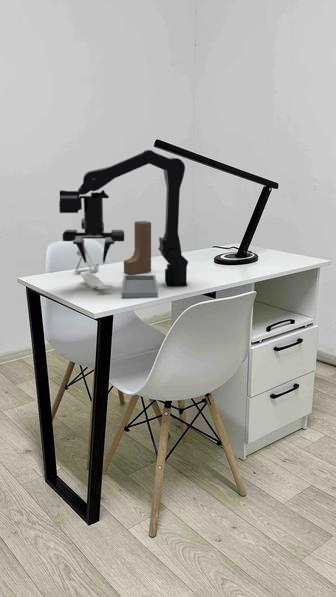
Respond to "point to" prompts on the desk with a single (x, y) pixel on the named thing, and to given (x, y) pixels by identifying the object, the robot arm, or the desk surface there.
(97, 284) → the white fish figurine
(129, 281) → the razor tray
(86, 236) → the robot arm
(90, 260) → the portable electronic device stand
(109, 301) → the desk surface
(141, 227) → the brown boot
